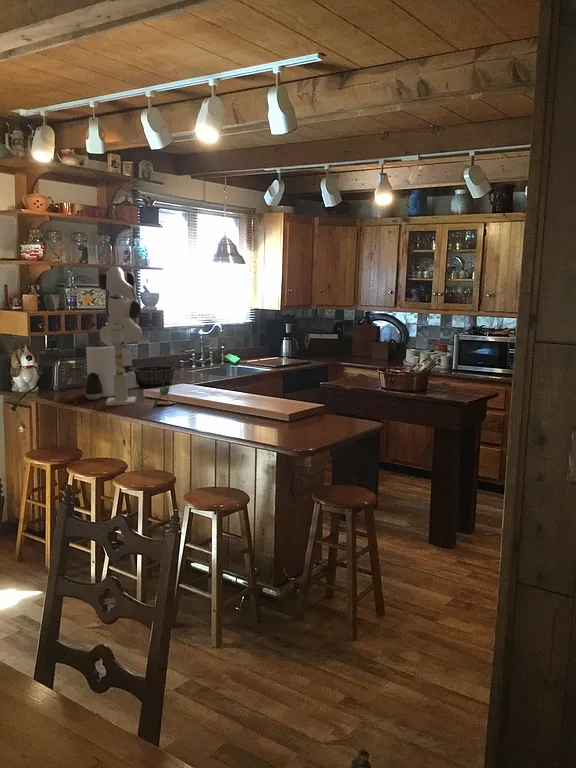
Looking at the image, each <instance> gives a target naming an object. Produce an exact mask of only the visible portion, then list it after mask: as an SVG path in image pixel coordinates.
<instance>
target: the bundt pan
mask: <svg viewBox="0 0 576 768" xmlns="http://www.w3.org/2000/svg"><path fill="white" fill-rule="evenodd" d="M132 371H133V372H134V373H135V377H136V383H137V384H139V385H144V386H148V385H151V386H154V385H156V386H158V385H162V384H163V383H162V380H164V384H168V383H171V382H172V380H173V378H174V373H175V372H174V371H175V367H174V366H169V365H148V366H141V367H140V366H139V367H133V370H132Z"/></svg>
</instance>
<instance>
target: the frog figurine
mask: <svg viewBox="0 0 576 768" xmlns="http://www.w3.org/2000/svg"><path fill="white" fill-rule="evenodd" d="M162 383H163V384H161V387H160V388H159V394H160V396H157V395H156V396H155V397H154V398H155V401H154V402H153V403H152V405H153V406H152V407H151V408H152V409H157V408H159V407H160V405H161V406H170V405H173V404H177V402H176V401H172V400H170V397H169V396H168V394H169V393H170V388H171V386H170V385H169V384H167V385H165V384H164V380H162ZM161 398H163V399H164V398H166V400H162V401H159V399H161ZM157 405H159V406H157Z"/></svg>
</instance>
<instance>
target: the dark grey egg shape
mask: <svg viewBox="0 0 576 768" xmlns="http://www.w3.org/2000/svg"><path fill="white" fill-rule="evenodd" d="M98 376H99V375H97V374H96V373H94V372H92V373H90V374H89V375H88V374H87V376H86V379H85V382H84V390H83V392H84V395H85V397H86V398H87V399H88V400H90V401H91V400H92V401H96V400H99V399H101V398H102V397H101V396H102V393H103V388H102V384H101V381H100V379H99V377H98Z"/></svg>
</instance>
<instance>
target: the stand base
mask: <svg viewBox="0 0 576 768" xmlns="http://www.w3.org/2000/svg"><path fill="white" fill-rule="evenodd" d="M113 380H114V397H108V398H107V400H106V402H105V406H121V405H122V406H124V405H135V404H136V401H137V396H129V395H128V394H129V393H128V389H127V374H126V373H124V375H116V374H114V375H113Z"/></svg>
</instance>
